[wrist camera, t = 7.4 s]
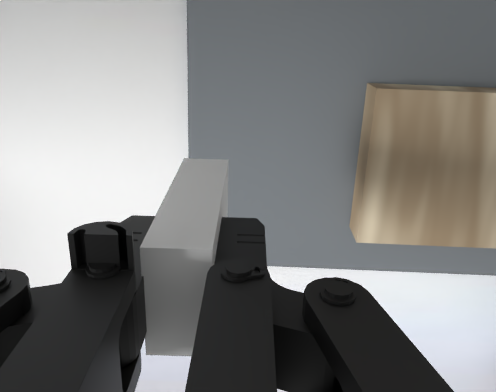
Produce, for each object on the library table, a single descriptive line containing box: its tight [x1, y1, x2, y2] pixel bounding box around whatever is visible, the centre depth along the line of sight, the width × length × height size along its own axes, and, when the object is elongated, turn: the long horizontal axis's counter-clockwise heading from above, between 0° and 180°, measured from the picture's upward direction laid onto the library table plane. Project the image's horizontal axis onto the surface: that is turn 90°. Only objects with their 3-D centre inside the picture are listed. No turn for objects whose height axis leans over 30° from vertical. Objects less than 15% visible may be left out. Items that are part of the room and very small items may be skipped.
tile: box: [349, 83, 496, 248], centre depth 21 cm, size 2×7×10 cm
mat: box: [187, 0, 496, 275], centre depth 20 cm, size 20×22×1 cm
